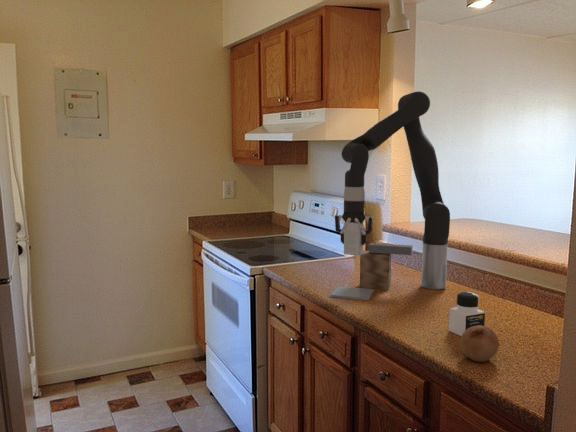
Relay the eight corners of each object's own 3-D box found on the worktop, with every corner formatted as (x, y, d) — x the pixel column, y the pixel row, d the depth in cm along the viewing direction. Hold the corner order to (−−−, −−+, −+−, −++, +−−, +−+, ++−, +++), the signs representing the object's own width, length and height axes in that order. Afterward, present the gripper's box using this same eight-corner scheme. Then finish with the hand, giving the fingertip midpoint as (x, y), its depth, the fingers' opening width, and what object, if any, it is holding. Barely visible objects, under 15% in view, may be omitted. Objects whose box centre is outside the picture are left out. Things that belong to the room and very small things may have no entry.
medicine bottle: (465, 338, 152) (467, 298, 150) (448, 330, 158) (450, 291, 157) (484, 335, 155) (486, 295, 153) (467, 327, 161) (468, 289, 160)
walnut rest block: (390, 286, 208) (391, 252, 206) (388, 290, 202) (389, 255, 200) (362, 284, 211) (363, 250, 209) (359, 288, 205) (360, 253, 204)
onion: (478, 376, 135) (476, 348, 130) (453, 353, 142) (451, 326, 137) (507, 358, 137) (506, 330, 132) (481, 337, 145) (480, 310, 140)
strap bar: (412, 253, 202) (412, 245, 202) (411, 255, 199) (411, 247, 198) (370, 250, 207) (370, 243, 207) (368, 252, 204) (368, 244, 203)
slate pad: (373, 291, 201) (374, 289, 201) (368, 300, 189) (368, 298, 189) (337, 288, 205) (337, 286, 205) (330, 296, 194) (330, 294, 194)
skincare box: (363, 254, 196) (364, 222, 194) (358, 256, 192) (359, 223, 190) (348, 252, 199) (348, 220, 197) (343, 254, 195) (343, 222, 194)
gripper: (375, 198, 194) (374, 243, 196) (337, 197, 198) (336, 241, 201) (372, 200, 187) (371, 247, 189) (332, 199, 191) (331, 244, 194)
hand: (353, 244), depth 195 cm, fingers closed on skincare box, 6 cm apart
